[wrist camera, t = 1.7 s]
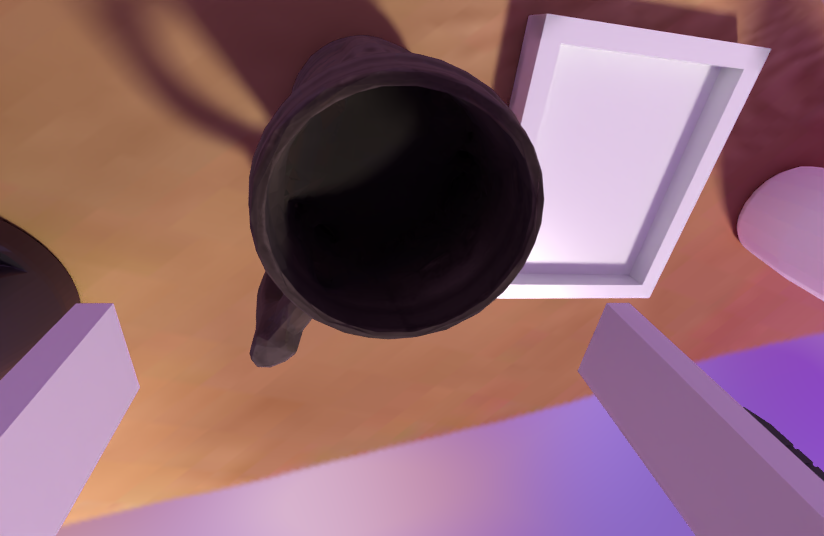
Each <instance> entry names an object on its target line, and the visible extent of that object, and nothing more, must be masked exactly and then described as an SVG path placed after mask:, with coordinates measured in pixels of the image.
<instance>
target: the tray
mask: <svg viewBox="0 0 824 536" xmlns="http://www.w3.org/2000/svg"><path fill="white" fill-rule="evenodd" d="M770 51H771V48H765V47H758V46H752V45H746V44H739V43H733V42H726V41H720V40H714V39H707V38H701V37H694V36H688V35H682V34H675V33H669V32H662V31H656V30H650V29H643V28H637V27H630V26H624V25H618V24H611V23H605V22H598V21H592V20H586V19H579V18H573V17H566V16H560V15H554V14H538V15H529V16H528V21H527V26H526V30H525V35H524V39H523V44H522V49H521V53H520V58H519V62H518V67H517V72H516V76H515V81H514V85H513V90H512V95H511V99H510V104H509V108H510V110H511V111H512V112H513V113H514V114H515V115H516V117H517V119H518V121H519V123H520V124H521V126H522V127H523V128H524V130H525V131H526V133H527V135H528V137H529V139H530V140H531V142H532V144H533V146H534V148H535V151H536V154H537V157H538V161H539V164H540V167H541V170H542V177H543V189H544V207H543V215H542V223H541V227H540V230H539V233H538V236H537V239H536V242H535V245H534V247H533V249H532V251H531V253H530V255H529V257H528V259H527V261H526V263H525V265H524V267H523V268H522V269H521V271H520V272H519V273H518V275H517V276H516V277H515V279H514V280H513V281H512V283H511V284H510V285H509V286H508V288H507V289H506V290H505V291H504V292H503V293H502V294H501V295H500V296H499V297H497V298H649V297H650V295H651V293H652V291H653V289H654V287H655V285H656V283H657V281H658V279H659V277H660V275H661V273H662V271H663V269H664V267H665V265H666V263H667V261H668V259H669V257H670V255H671V253H672V251H673V249H674V246H675V244H676V242H677V240H678V238H679V236H680V234H681V232H682V230H683V228H684V226H685V224H686V222H687V220H688V218H689V216H690V214H691V212H692V210H693V208H694V206H695V204H696V202H697V200H698V198H699V196H700V193H701V191H702V189H703V187H704V185H705V183H706V181H707V179H708V177H709V175H710V173H711V171H712V169H713V167H714V165H715V163H716V161H717V159H718V157H719V155H720V153H721V151H722V149H723V147H724V145H725V142H726V140H727V138H728V136H729V134H730V132H731V130H732V128H733V126H734V124H735V122H736V120H737V118H738V116H739V114H740V112H741V110H742V108H743V106H744V104H745V102H746V100H747V98H748V96H749V94H750V92H751V89H752V87H753V85H754V83H755V81H756V79H757V77H758V75H759V73H760V71H761V69H762V67H763V65H764V63H765V61H766V59H767V57H768V55H769V53H770Z"/></svg>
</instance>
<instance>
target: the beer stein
mask: <svg viewBox="0 0 824 536" xmlns="http://www.w3.org/2000/svg"><path fill="white" fill-rule="evenodd" d="M248 205H249V215H250V229H251V233H252V237H253V241H254V244H255V248H256V252H257V254H258V256H259V258H260V260H261V262H262V264H263V266H264V269H265V273H264V276H263V278H262V281H261V284H260V286H259V290H258V294H257V308H256V330H255V334H254V338H253V341H252V345H251V350H250V356H251V359H252V361H253V362H254V363H255V365H256V366H257V367H272V366H275V365H277V364H280V363H282V362H285V361H286V360H288V359H289V358H290V357H292V356H293V355H294V354H295V353H296V351H297V349H298V345H299V342H300V338H301V335H302V332H303V330H304V328H305V327H306V326H307V324H308V323H309V322H310V321H311V319H312V318H313V319H314V320H316V321H318V322H321V323H323V324H326V325H328V326H330V327H333V328H335V329H337V330H340V331H342V332H344V333H349V334H353V335H358V336H363V337H368V338H379V339H398V338H411V337H418V336H422V335H426V334H430V333H434V332H438V331H443V330H447V329H448V328H450V327H452V326H454V325H456V324H458V323H460V322H462V321H464V320H466V319H468V318H470V317H472V316H474V315H476V314H478V313H479V312H480V311H482V310H483V309H484V308H485V307H486V306H488V305H489V304H490V303H491V302H493V301H494V300H495V299H496V298H497V297H499V296H500V295H501V294H502V293H503V292H504V291H505V290H506V289H507V288H508V286H509V285H510V284H511V283H512V281H513V280H514V279H515V277H516V276H517V275H518V273H519V272H520V271H521V269H522V268H523V267H524V265H525V263H526V261H527V259H528V257H529V255H530V253H531V251H532V249H533V247H534V245H535V242H536V239H537V236H538V233H539V230H540V227H541V223H542V215H543V207H544V189H543V177H542V170H541V167H540V164H539V161H538V157H537V154H536V151H535V148H534V146H533V144H532V142H531V140H530V139H529V137H528V135H527V133H526V131H525V130H524V128H523V127H522V126H521V124H520V123H519V121H518V119H517V117H516V115H515V114H514V113H513V112H512V111H511V110H510V108H509V107H508V106H507V105H506V104H505V103H504V102H503V101H502V100H501V98H500V97H499V96H498V95H497V94H496V93H495V92H494V91H493V90H492V88H490V87H489V86H487V85H486V84H484V83H483V82H481V81H480V80H478V79H477V78H475V77H474V76H472V75H471V74H469V73H468V72H466V71H464V70H462V69H460V68H457V67H455V66H453V65H451V64H449V63H447V62H444V61H442V60H439V59H435V58H432V57H428V56H424V55H420V54H415V53H411V52H409V51H407V50H406V49H404V48H402V47H400V46H398V45H396V44H393V43H391V42H388V41H386V40H384V39H381V38H378V37H372V36H367V35H357V36H349V37H346V38H342V39H339V40H336V41H333V42H331V43H329V44H327V45H325V46H324V47H323V48H321V49H320V50H318V51H317V52H316V53H314V54H313V55H312V56H311V57H310V58H309V60H308V61H307V62H306V64H305V65H304V66H303V68H302V69H301V71H300V72H299V73H298V76H297V78H296V81H295V83H294V86H293V89H292V94H291V95H290V96H289V97H288V98H287V99H286V101H285V102H284V103H283V104H282V105H281V106H280V108H279V109H278V111H277V112H276V114H275V115H274V116H273V118H272V119H271V121H270V122H269V124H268V125H267V126H266V128H265V129H264V132H263V134H262V137H261V139H260V141H259V144H258V146H257V149H256V151H255V153H254V156H253V160H252V166H251V171H250V176H249V204H248Z"/></svg>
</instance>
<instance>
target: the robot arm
mask: <svg viewBox="0 0 824 536" xmlns="http://www.w3.org/2000/svg"><path fill="white" fill-rule="evenodd" d="M578 372H579V373H580V375H581V376H582V378H583V379H584V380H585V382H586V383H587V385H588V386H589V387H590V389H591V390H592V392H593V393H594V394H595V396H596V397H597V399H598V400H599V401H600V403H601V404H602V405H603V407H604V408H605V409H606V411H607V412H608V414H609V415H610V417H611V418H612V419H613V421H614V422H615V424H616V425H617V426H618V428H619V429H620V431H621V432H622V433H623V435H624V436H625V438H626V439H627V440H628V442H629V443H630V445H631V446H632V447H633V449H634V450H635V452H636V453H637V454H638V456H639V457H640V459H641V460H642V461H643V463H644V464H645V466H646V467H647V468H648V470H649V471H650V473H651V474H652V475H653V477H654V478H655V479H656V481H657V482H658V484H659V485H660V487H661V488H662V489H663V491H664V492H665V494H666V495H667V496H668V498H669V499H670V500H671V502H672V503H673V505H674V506H675V507H676V509H677V510H678V512H679V513H680V514H681V516H682V517H683V519H684V520H685V521H686V523H687V524H688V526H689V527H690V528H691V530H692V531H693V533H694V534H695V535H696V536H824V472H823V471H822V470H821V469H820V468H819V467H814V466H813V462H812V461H811V460H810V459H809V458H807V457H806V456H805V455H804V454H803V453H802V452H801V451H800V450H799V449H794V447H793V444H792V443H791V442H790V441H789V440H787V439H786V438H785V437H784V436H783V435H782V434H781V433H780V432H778V431H777V430H776V429H775V428H774V427H773V426H772V425H771V424H769V423H768V422H766V421H765V420H763V419H762V418H760V417H759V416H757V415H755V414H754V413H752V412H751V411H749V410H748V409H746V408H745V407H742V406H741V405H740V404H739V403H738V402H737V401H735V400H734V399H733V398H732V397H731V396H730V395H729V394H728V393H727V392H726V391H725V390H723V389H722V388H721V387H720V386H719V385H718V384H717V383H716V382H715V381H714V380H713V379H711V378H710V377H709V376H708V375H707V374H706V373H705V372H704V371H703V370H702V369H701V368H699V367H698V366H697V365H696V364H695V363H694V362H693V361H692V360H691V359H690V358H689V357H687V356H686V355H685V354H684V353H683V352H682V351H681V350H680V349H679V348H678V347H677V346H675V345H674V344H673V343H672V342H671V341H670V340H669V339H668V338H667V337H666V336H665V335H663V334H662V333H661V332H660V331H659V330H658V329H657V328H656V327H655V326H654V325H653V324H651V323H650V322H649V321H648V320H647V319H646V318H645V317H644V316H643V315H642V314H641V313H639V312H638V311H637V310H636V309H635V308H634V307H633V306H632V305H631V304H630V303H607V304H606V306H605V309H604V311H603V313H602V316H601V318H600V320H599V323H598V325H597V327H596V330H595V332H594V334H593V337H592V339H591V341H590V344H589V346H588V348H587V350H586V353H585V355H584V357H583V360H582V362H581V364H580V367H579V369H578ZM139 388H140V386H139V383H138V380H137V377H136V374H135V370H134V367H133V364H132V361H131V358H130V355H129V351H128V348H127V345H126V342H125V339H124V336H123V332H122V329H121V326H120V323H119V320H118V317H117V314H116V310H115V307H114V304H113V303H80V298H79V295H78V291H77V289H76V287H75V284H74V283H73V281H72V279H71V277H70V276H69V274H68V273H67V271H66V270H65V268H64V267H63V266H62V265H61V264H60V262H59V261H58V260H57V259H56V258H55V257H54V256H53V255H52V254H51V253H50V252H49V251H48V250H47V249H45V248H44V247H43V246H42V245H41V244H39V243H38V242H37V241H35V240H34V239H33V238H31V237H30V236H28V235H27V234H25V233H24V232H22V231H21V230H19V229H17V228H15V227H14V226H12V225H10V224H8V223H6V222H4V221H2V220H0V536H56V535H57V533H58V531H59V529H60V528H61V526H62V524H63V522H64V521H65V519H66V517H67V515H68V514H69V512H70V510H71V508H72V507H73V505H74V503H75V501H76V499H77V498H78V496H79V494H80V492H81V491H82V489H83V487H84V485H85V484H86V482H87V480H88V478H89V476H90V475H91V473H92V471H93V469H94V468H95V466H96V464H97V462H98V461H99V459H100V457H101V455H102V453H103V452H104V450H105V448H106V446H107V445H108V443H109V441H110V439H111V438H112V436H113V434H114V432H115V431H116V429H117V427H118V425H119V423H120V422H121V420H122V418H123V416H124V415H125V413H126V411H127V409H128V408H129V406H130V404H131V402H132V400H133V399H134V397H135V395H136V393H137V392H138V390H139Z"/></svg>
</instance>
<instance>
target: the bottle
mask: <svg viewBox="0 0 824 536" xmlns="http://www.w3.org/2000/svg"><path fill="white" fill-rule="evenodd" d="M737 233H738V237H739V241H740V242H741V244H742V245H743V246H744V247H745V248H746V249H747V250H748V251H750V252H751V253H752V254H754V255H755V256H756V257H758V258H759V259H760V260H762V261H763V262H764V263H766V264H767V265H768V266H770V267H771V268H772V269H774V270H775V271H776V272H778V273H779V274H780V275H782V276H783V277H785V278H786V279H788V280H789V281H791V282H793V283H794V284H796V285H798V286H799V287H801V288H803V289H804V290H806V291H808V292H809V293H811V294H813V295H814V296H816V297H818V298H819V299H821V300H823V301H824V168H822V167H813V166H800V167H797V168H793V169H790V170H787V171H784V172H781V173H778V174H777V175H775V176H773V177H772V178H770V179H768V180H767V181H765V182H764V183H763V184H762V185H761V186H760V187H759V188H758V189H756V190H755V191H754V192H753V194H752V195H751V196H750V198H749V199H748V200H747V201H746V203H745V204H744V206H743V208H742V210H741V212H740V214H739V217H738V222H737Z"/></svg>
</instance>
